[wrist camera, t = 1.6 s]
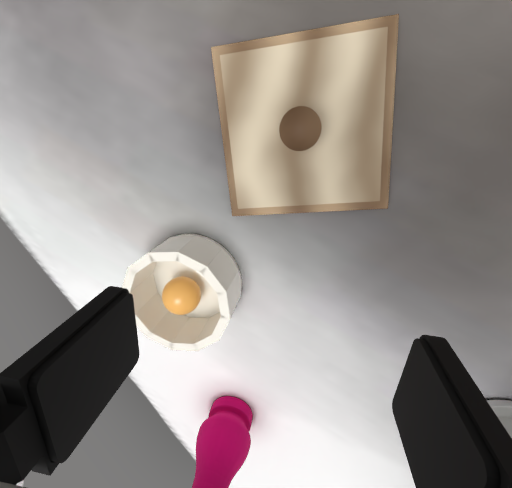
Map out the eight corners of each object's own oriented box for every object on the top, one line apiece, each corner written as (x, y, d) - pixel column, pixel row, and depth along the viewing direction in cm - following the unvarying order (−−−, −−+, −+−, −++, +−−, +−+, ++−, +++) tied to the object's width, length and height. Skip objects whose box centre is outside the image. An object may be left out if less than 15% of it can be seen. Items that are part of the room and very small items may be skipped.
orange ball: (203, 270, 34) (188, 287, 30) (208, 302, 36) (195, 323, 32) (169, 270, 35) (150, 287, 31) (176, 301, 37) (159, 322, 33)
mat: (396, 16, 24) (398, 14, 23) (386, 207, 29) (387, 208, 29) (213, 49, 27) (211, 47, 27) (233, 214, 32) (232, 216, 32)
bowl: (235, 231, 33) (220, 250, 27) (247, 321, 37) (235, 353, 31) (141, 235, 35) (110, 253, 30) (161, 318, 39) (136, 348, 34)
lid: (385, 31, 24) (406, -2, 18) (377, 199, 28) (393, 213, 23) (222, 58, 27) (199, 37, 21) (240, 206, 31) (224, 221, 26)
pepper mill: (201, 411, 44) (121, 607, 26) (223, 384, 42) (152, 582, 23) (240, 436, 45) (189, 647, 26) (265, 411, 42) (227, 627, 23)
